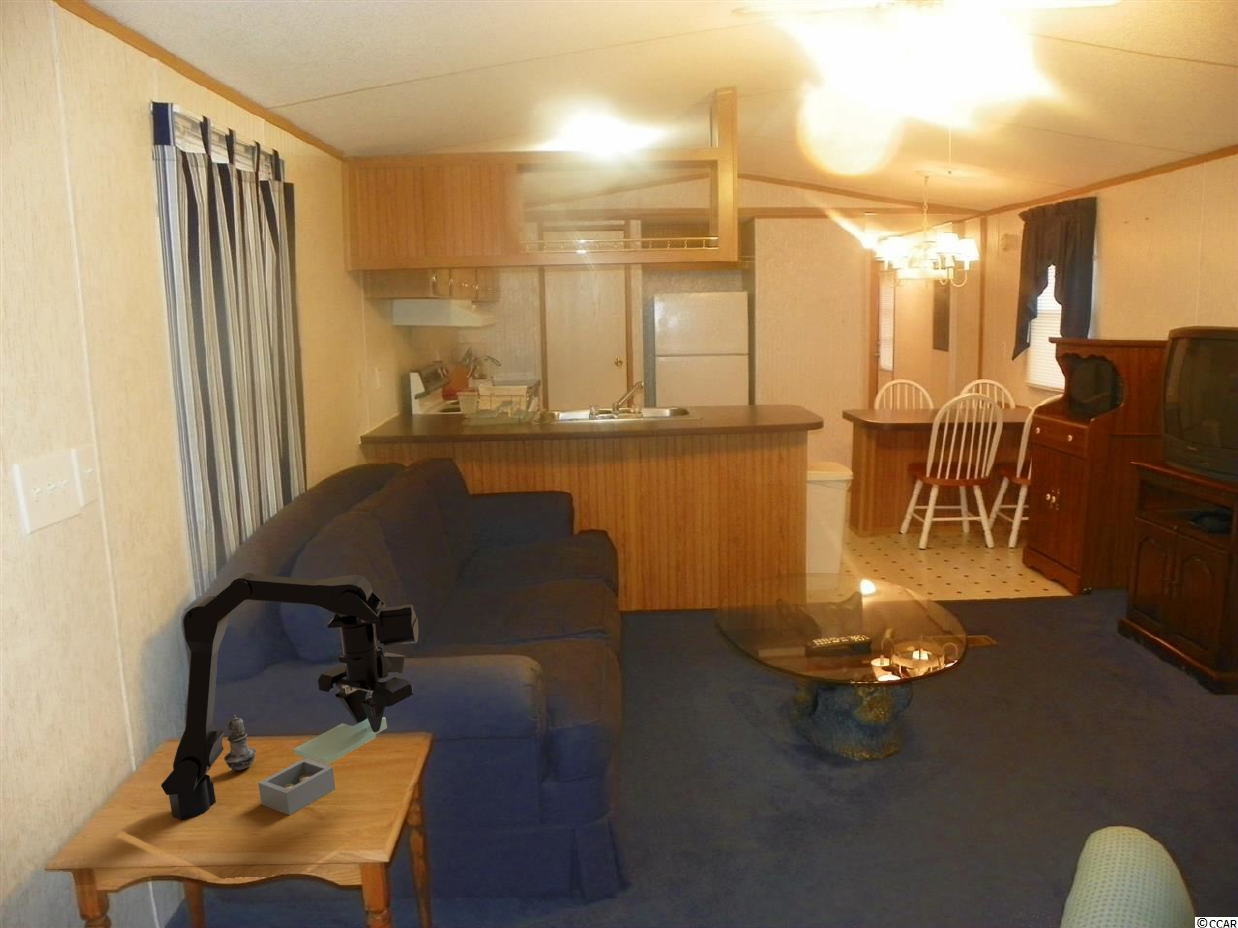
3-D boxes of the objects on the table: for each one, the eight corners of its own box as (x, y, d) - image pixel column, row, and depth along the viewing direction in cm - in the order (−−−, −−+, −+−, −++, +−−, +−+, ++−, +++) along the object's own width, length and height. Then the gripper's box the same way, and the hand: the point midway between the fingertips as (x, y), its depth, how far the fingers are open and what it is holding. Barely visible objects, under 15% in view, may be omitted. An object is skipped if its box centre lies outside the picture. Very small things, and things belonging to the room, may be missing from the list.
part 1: (288, 806, 163) (286, 791, 162) (279, 803, 164) (277, 788, 164) (299, 799, 165) (297, 785, 164) (290, 796, 166) (288, 782, 165)
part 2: (306, 795, 166) (304, 781, 165) (298, 792, 167) (296, 778, 167) (317, 789, 168) (315, 775, 167) (309, 786, 169) (307, 772, 169)
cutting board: (328, 770, 151) (326, 759, 151) (294, 759, 156) (293, 748, 156) (397, 730, 164) (396, 720, 164) (365, 722, 169) (363, 711, 168)
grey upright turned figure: (264, 767, 180) (256, 710, 178) (238, 781, 175) (230, 723, 173) (246, 761, 183) (237, 705, 181) (220, 775, 178) (211, 717, 176)
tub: (290, 819, 160) (286, 792, 159) (262, 808, 164) (258, 782, 163) (335, 792, 168) (332, 767, 167) (307, 782, 172) (304, 758, 172)
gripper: (430, 639, 163) (439, 720, 166) (359, 626, 173) (369, 703, 176) (383, 661, 154) (393, 747, 156) (311, 646, 164) (322, 727, 167)
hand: (370, 729), depth 164 cm, fingers closed on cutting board, 3 cm apart
